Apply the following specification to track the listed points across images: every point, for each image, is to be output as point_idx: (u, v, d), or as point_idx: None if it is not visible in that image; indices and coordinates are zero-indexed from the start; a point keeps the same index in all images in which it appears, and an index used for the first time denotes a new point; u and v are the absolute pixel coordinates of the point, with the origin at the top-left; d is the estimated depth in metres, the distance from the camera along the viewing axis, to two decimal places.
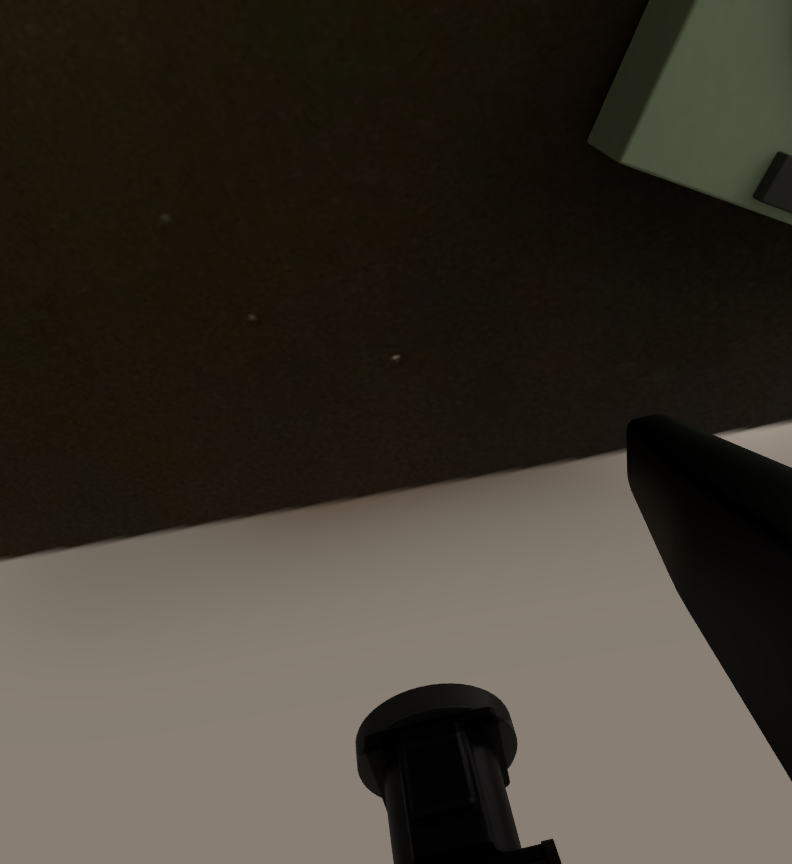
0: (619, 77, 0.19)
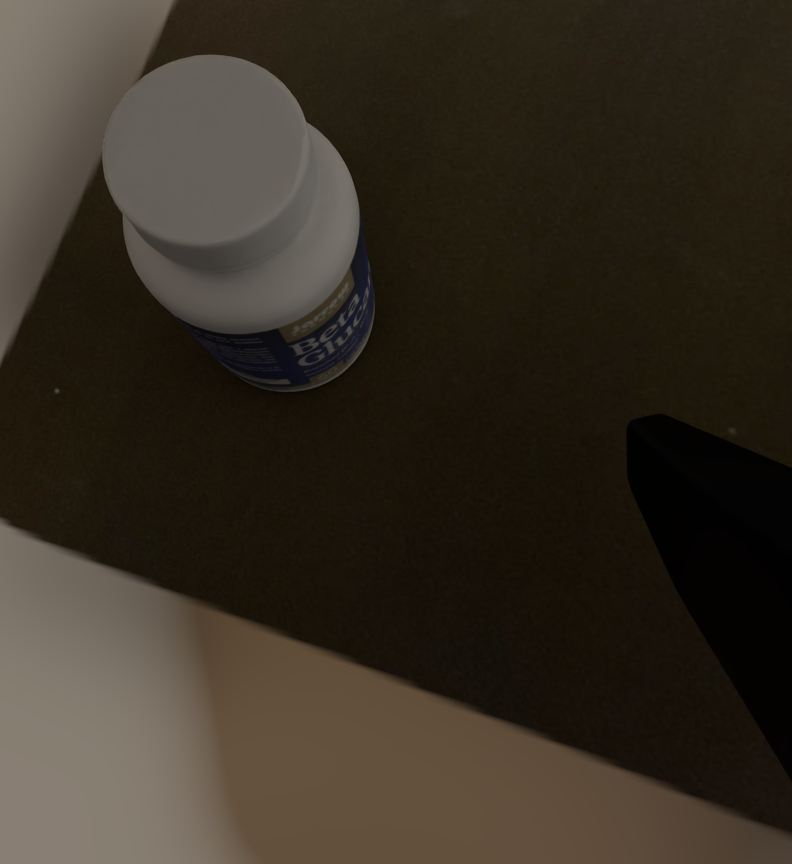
0: None
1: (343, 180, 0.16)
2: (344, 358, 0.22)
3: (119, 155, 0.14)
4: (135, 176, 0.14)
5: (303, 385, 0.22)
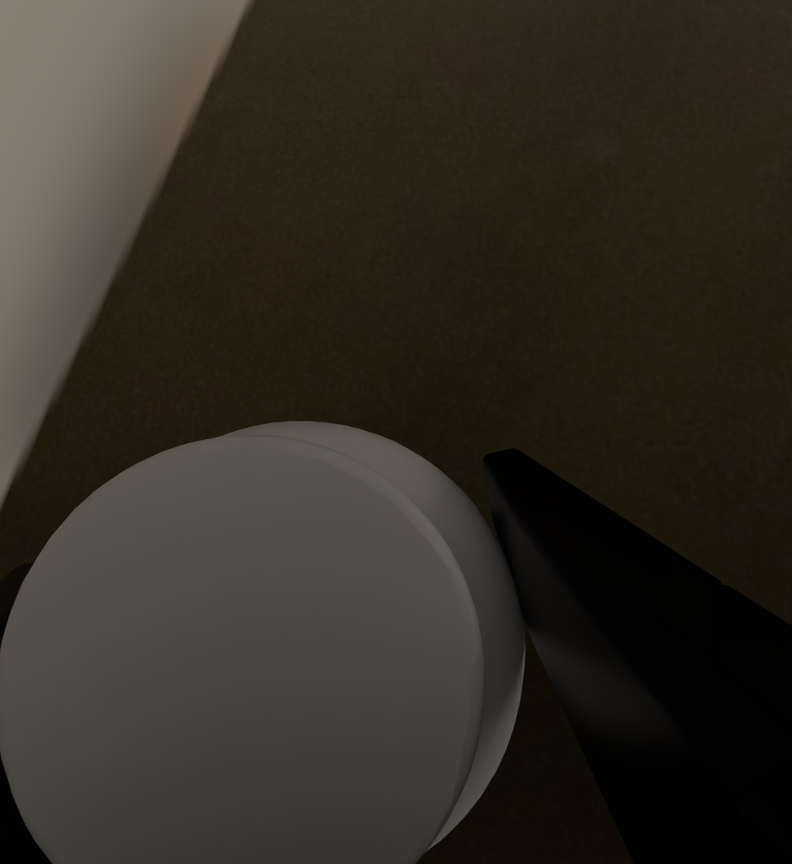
0: None
1: (505, 601, 0.08)
2: None
3: (36, 692, 0.06)
4: (69, 750, 0.06)
5: None
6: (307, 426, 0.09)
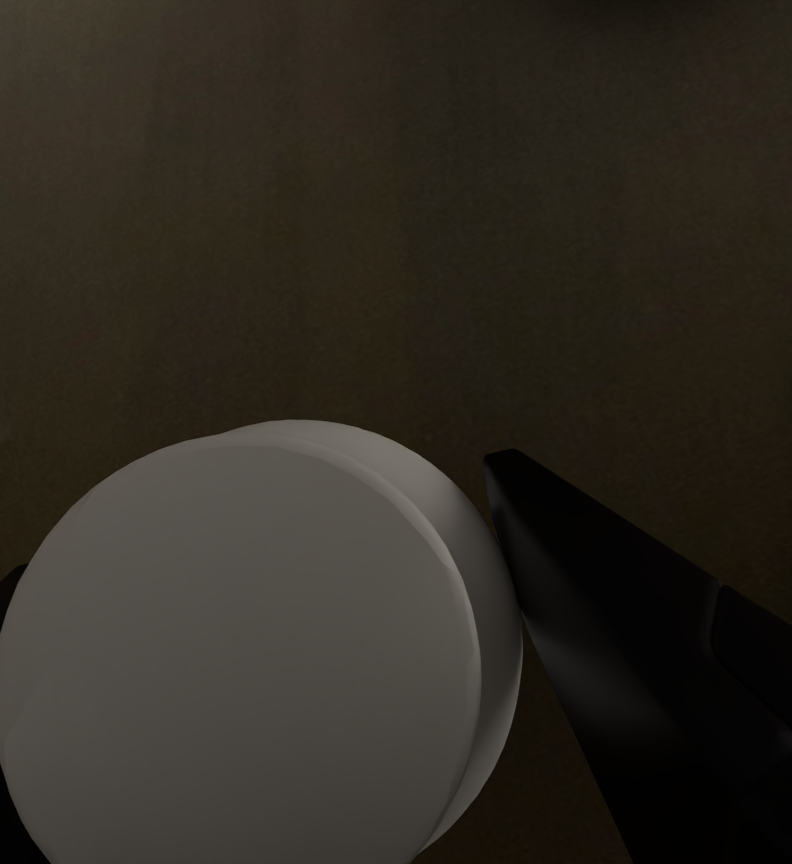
0: None
1: (502, 599, 0.08)
2: None
3: (34, 690, 0.06)
4: (66, 747, 0.06)
5: None
6: (304, 425, 0.09)
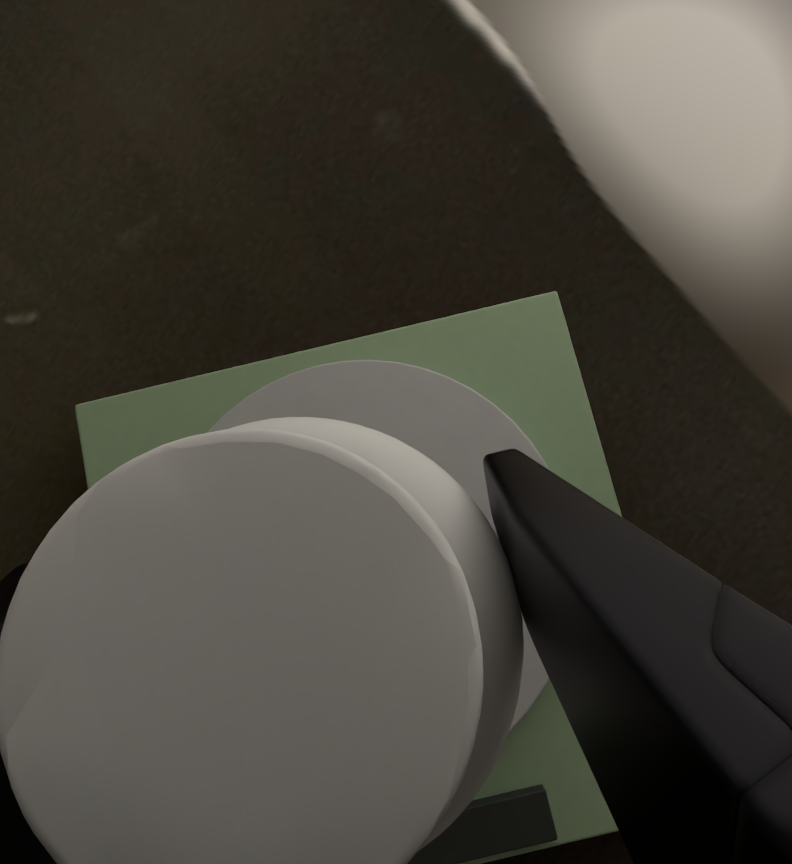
0: None
1: (504, 596, 0.08)
2: None
3: (36, 685, 0.06)
4: (68, 742, 0.06)
5: None
6: (306, 421, 0.09)
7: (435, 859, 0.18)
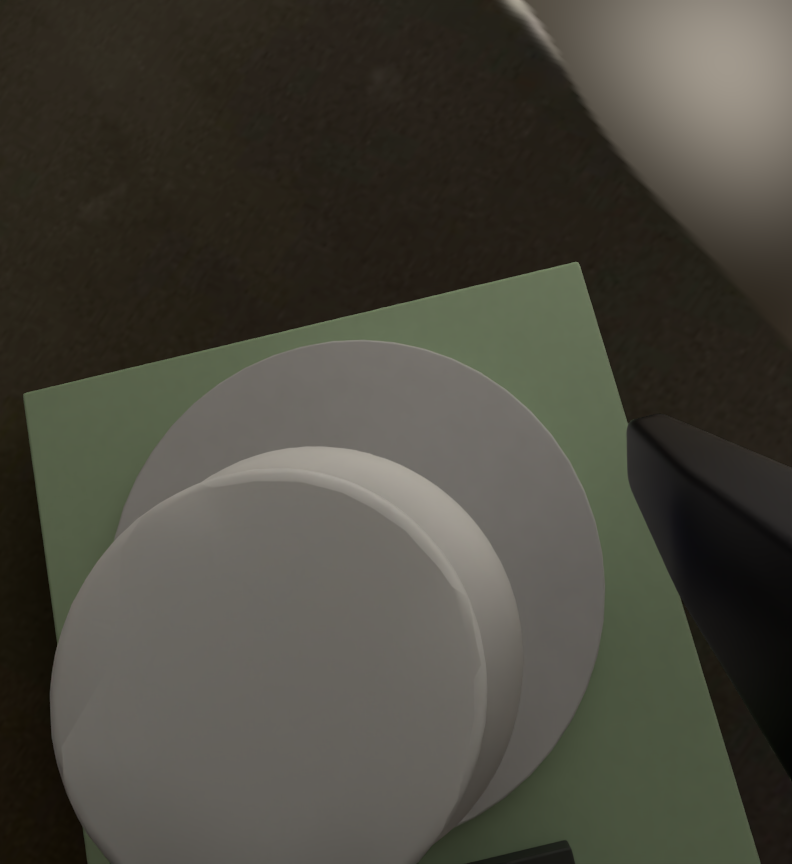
0: None
1: (505, 613, 0.09)
2: None
3: (87, 701, 0.07)
4: (117, 753, 0.07)
5: None
6: (321, 452, 0.10)
7: None
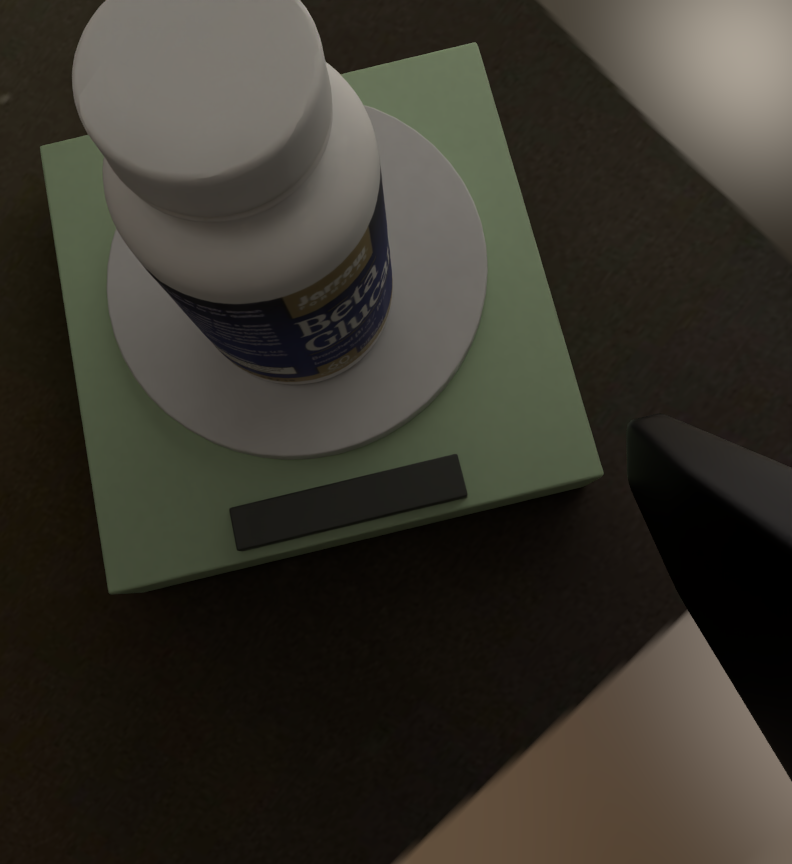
0: None
1: (362, 123, 0.14)
2: (358, 345, 0.19)
3: (94, 74, 0.12)
4: (110, 99, 0.11)
5: (311, 376, 0.19)
6: None
7: (357, 513, 0.20)
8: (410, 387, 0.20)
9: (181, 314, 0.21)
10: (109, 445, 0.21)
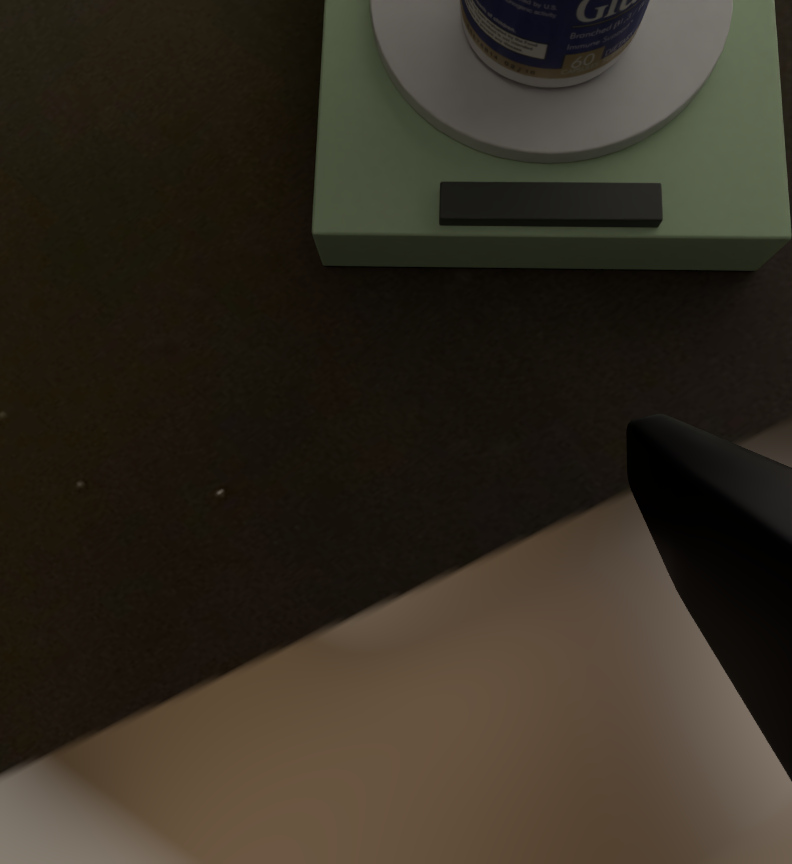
0: None
1: None
2: (607, 46, 0.20)
3: None
4: None
5: (552, 70, 0.21)
6: None
7: (557, 211, 0.21)
8: (632, 114, 0.22)
9: (436, 6, 0.23)
10: (340, 109, 0.23)
